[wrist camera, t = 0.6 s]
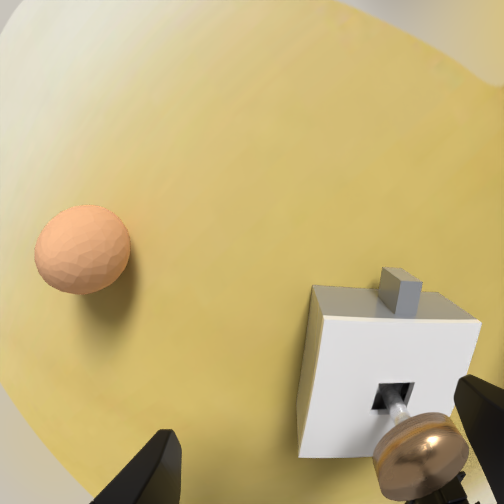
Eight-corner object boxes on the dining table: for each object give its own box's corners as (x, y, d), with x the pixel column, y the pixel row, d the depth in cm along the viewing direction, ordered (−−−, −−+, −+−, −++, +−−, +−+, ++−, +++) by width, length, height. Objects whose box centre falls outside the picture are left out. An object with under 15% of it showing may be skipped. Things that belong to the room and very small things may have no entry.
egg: (90, 279, 24) (23, 311, 16) (79, 208, 23) (6, 217, 15) (152, 274, 23) (94, 312, 15) (141, 197, 22) (75, 200, 14)
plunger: (407, 410, 19) (449, 495, 10) (338, 413, 19) (358, 510, 11) (428, 346, 18) (492, 422, 9) (353, 345, 18) (392, 437, 10)
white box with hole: (408, 401, 23) (434, 449, 17) (296, 402, 24) (298, 457, 18) (442, 266, 21) (489, 290, 15) (315, 256, 22) (329, 281, 16)
